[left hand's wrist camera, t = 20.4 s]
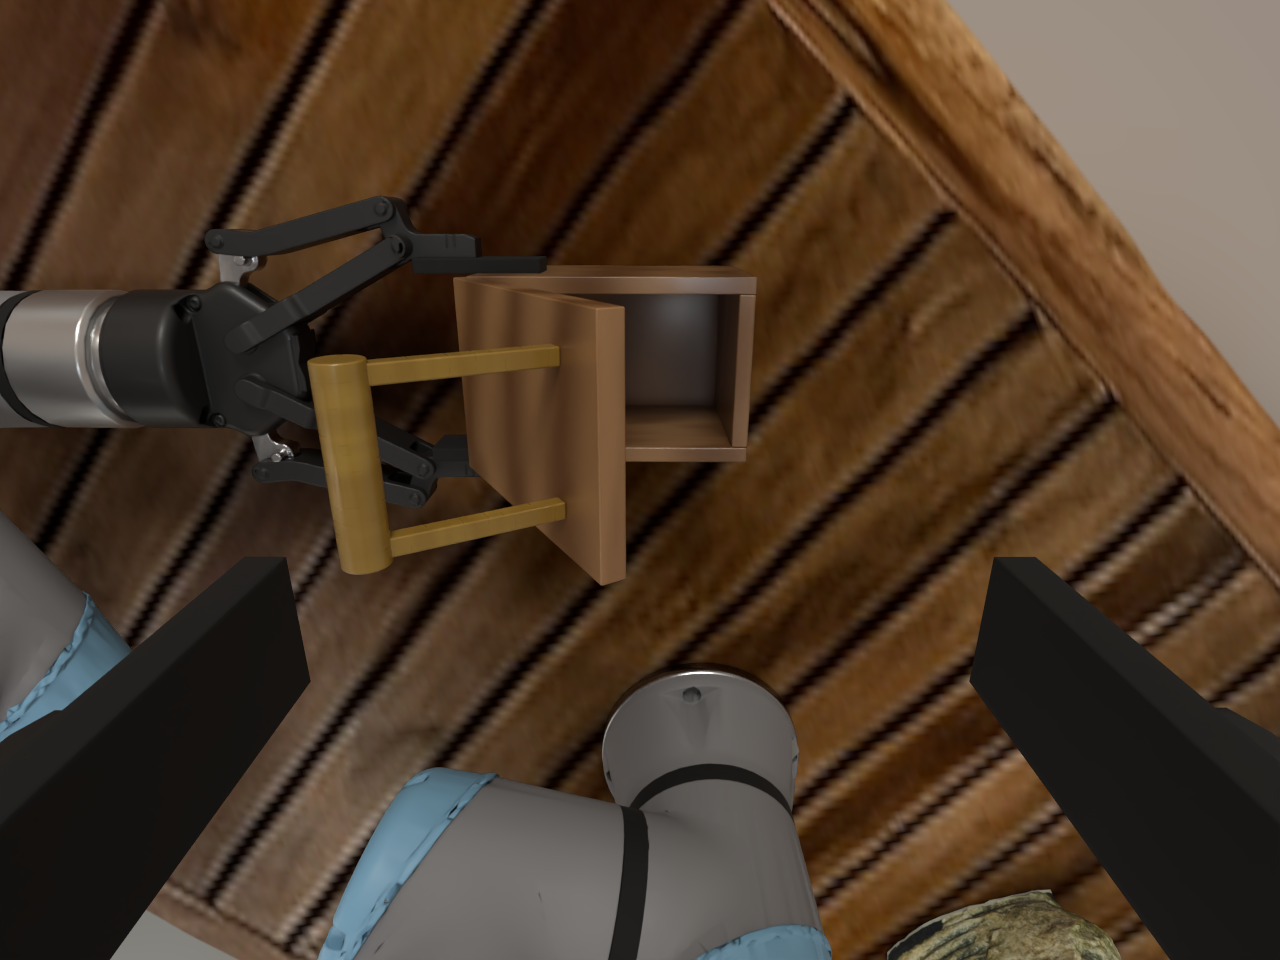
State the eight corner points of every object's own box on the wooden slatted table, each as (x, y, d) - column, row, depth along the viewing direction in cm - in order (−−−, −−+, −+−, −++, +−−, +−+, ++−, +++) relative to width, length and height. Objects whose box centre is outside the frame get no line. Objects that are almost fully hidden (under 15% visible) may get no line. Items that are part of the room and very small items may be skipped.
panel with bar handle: (625, 306, 21) (313, 325, 17) (626, 579, 24) (365, 653, 20) (473, 276, 33) (267, 283, 29) (488, 463, 36) (304, 494, 32)
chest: (732, 265, 43) (757, 277, 33) (725, 414, 46) (746, 462, 36) (504, 265, 43) (466, 276, 33) (513, 413, 46) (481, 461, 36)
